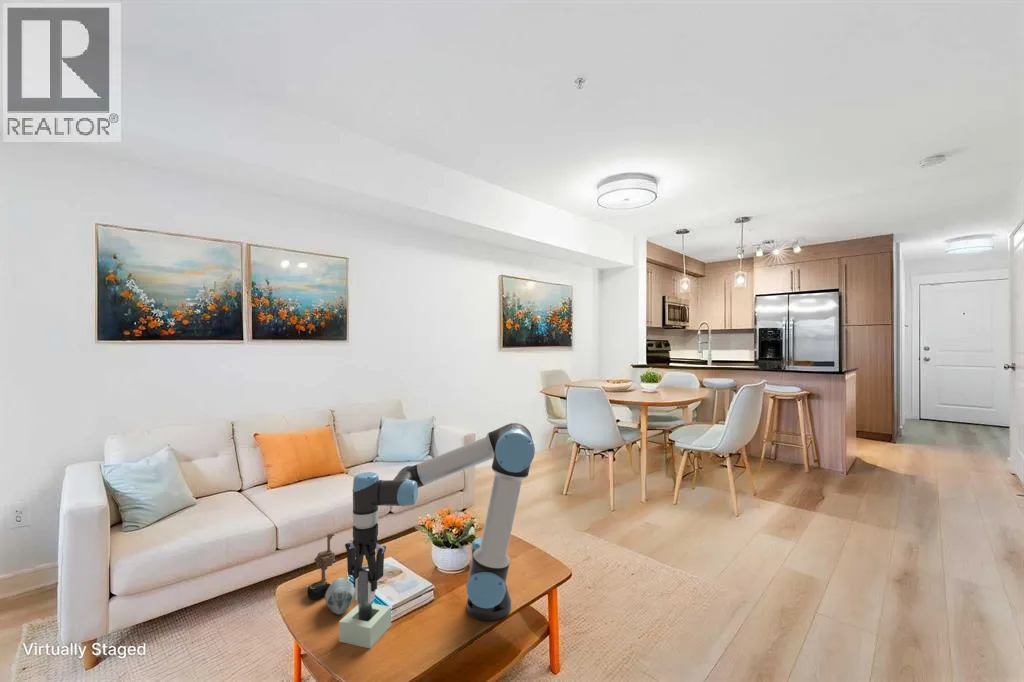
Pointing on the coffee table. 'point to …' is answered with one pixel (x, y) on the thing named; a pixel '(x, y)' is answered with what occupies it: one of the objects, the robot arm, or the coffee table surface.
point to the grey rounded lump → (340, 595)
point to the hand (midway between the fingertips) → (365, 599)
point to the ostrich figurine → (324, 559)
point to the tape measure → (317, 589)
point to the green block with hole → (365, 626)
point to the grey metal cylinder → (364, 595)
